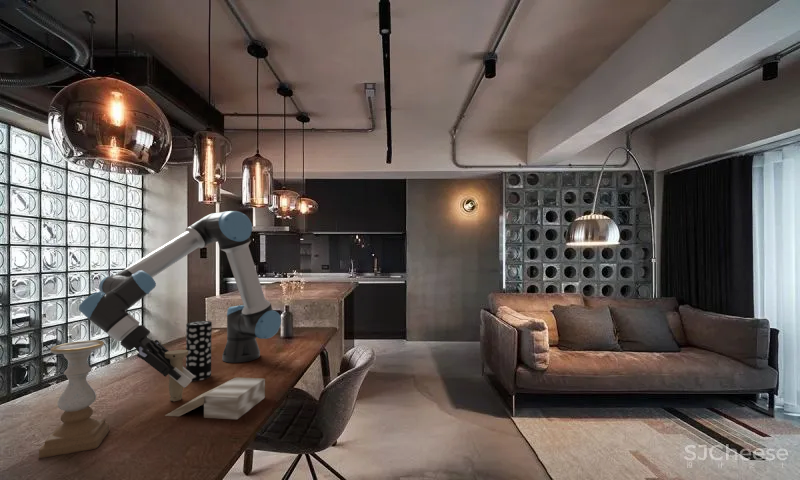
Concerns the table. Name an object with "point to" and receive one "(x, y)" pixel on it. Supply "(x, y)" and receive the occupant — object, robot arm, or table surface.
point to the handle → (177, 362)
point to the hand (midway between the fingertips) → (189, 381)
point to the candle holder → (76, 405)
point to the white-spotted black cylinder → (199, 349)
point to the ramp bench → (227, 399)
